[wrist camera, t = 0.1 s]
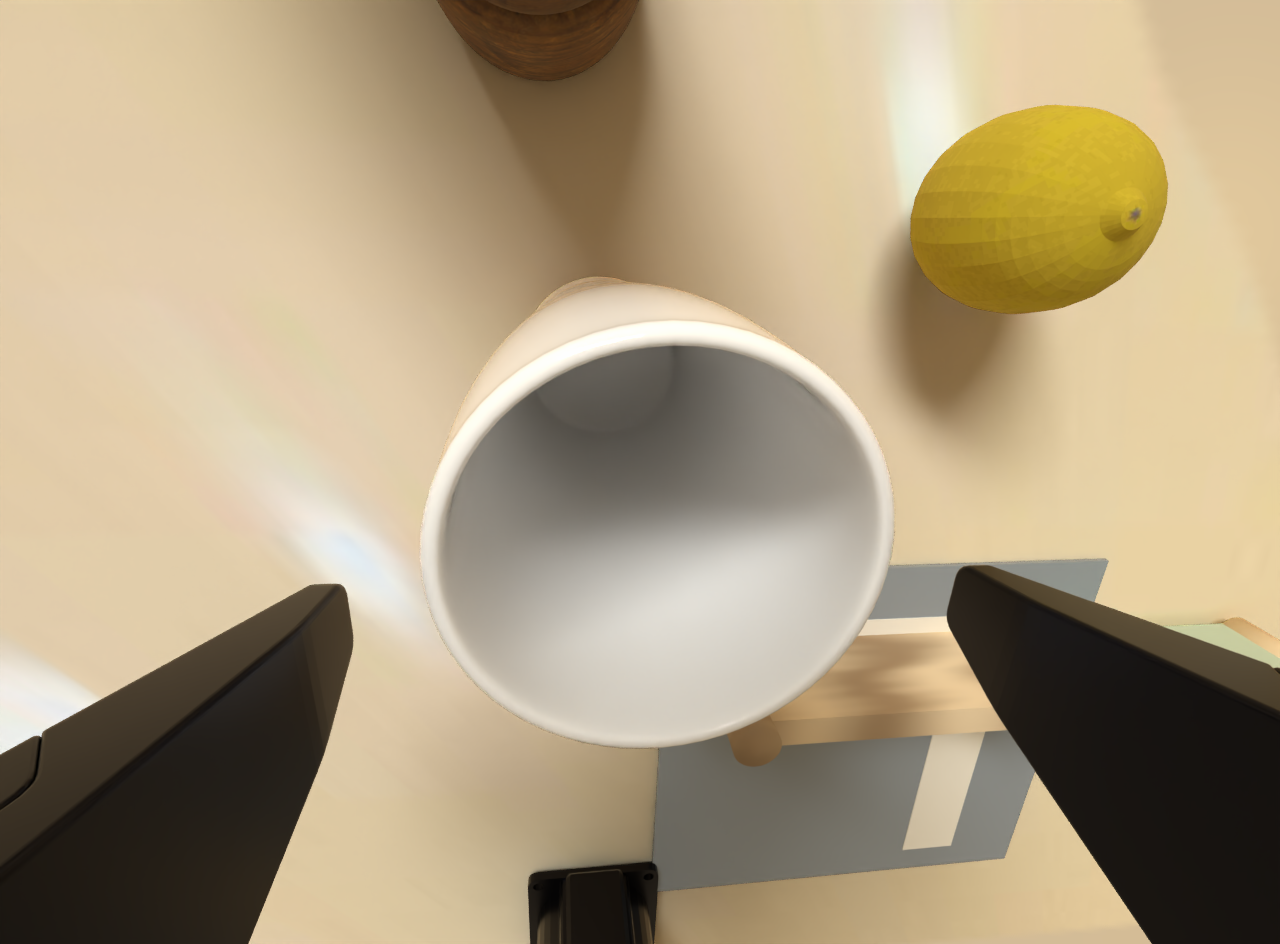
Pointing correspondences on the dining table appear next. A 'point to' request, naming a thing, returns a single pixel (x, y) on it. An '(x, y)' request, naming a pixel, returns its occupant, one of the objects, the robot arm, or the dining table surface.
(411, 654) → the dining table surface
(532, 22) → the utensil holder
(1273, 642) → the fence panel
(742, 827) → the card
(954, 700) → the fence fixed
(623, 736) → the white tumbler
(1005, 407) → the dining table surface
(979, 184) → the lemon
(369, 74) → the dining table surface
